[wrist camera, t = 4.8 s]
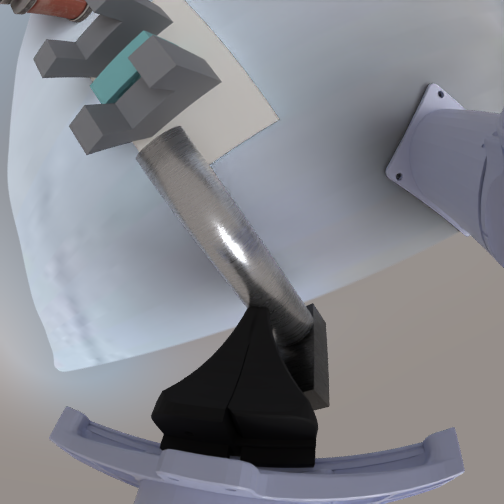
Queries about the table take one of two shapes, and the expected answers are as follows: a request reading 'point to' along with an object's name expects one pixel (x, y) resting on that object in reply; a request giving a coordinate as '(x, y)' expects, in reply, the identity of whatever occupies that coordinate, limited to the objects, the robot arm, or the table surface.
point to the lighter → (52, 8)
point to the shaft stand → (160, 79)
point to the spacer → (119, 73)
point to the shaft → (239, 256)
